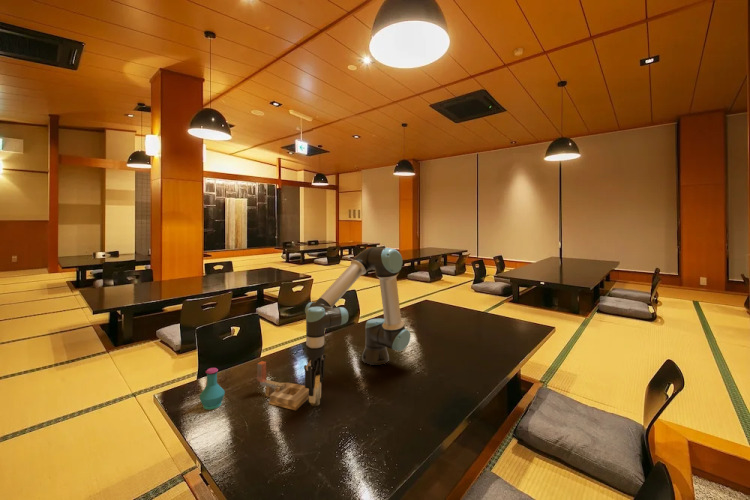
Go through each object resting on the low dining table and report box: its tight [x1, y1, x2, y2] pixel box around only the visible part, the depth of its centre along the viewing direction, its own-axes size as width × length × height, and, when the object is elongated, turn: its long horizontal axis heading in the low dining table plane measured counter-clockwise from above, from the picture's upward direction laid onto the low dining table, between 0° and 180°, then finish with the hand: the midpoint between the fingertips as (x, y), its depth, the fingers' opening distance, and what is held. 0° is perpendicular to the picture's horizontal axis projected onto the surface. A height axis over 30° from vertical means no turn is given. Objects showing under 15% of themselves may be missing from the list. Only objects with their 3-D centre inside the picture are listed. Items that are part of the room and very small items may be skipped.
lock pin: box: [256, 360, 284, 390], centre depth 141 cm, size 12×3×10 cm, turn 70°
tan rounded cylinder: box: [309, 373, 321, 407], centre depth 135 cm, size 4×4×12 cm
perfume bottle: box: [199, 367, 226, 410], centre depth 132 cm, size 9×9×15 cm
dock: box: [265, 382, 309, 411], centre depth 139 cm, size 18×13×5 cm
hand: (315, 399), depth 135 cm, fingers closed on tan rounded cylinder, 4 cm apart
